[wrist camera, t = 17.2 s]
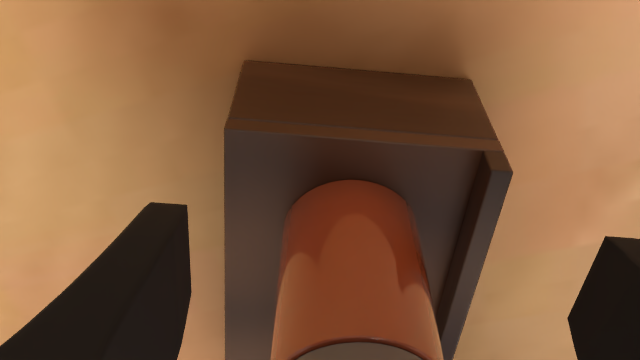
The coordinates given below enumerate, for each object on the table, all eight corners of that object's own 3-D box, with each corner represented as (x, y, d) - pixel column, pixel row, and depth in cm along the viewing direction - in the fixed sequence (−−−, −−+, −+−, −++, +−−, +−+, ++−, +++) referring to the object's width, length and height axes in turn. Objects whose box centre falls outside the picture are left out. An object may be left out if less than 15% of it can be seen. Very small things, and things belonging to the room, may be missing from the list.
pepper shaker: (405, 287, 19) (436, 492, 14) (279, 278, 19) (259, 482, 14) (429, 184, 17) (477, 381, 11) (286, 173, 17) (266, 368, 11)
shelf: (398, 370, 28) (412, 485, 24) (238, 360, 28) (221, 475, 24) (471, 78, 20) (514, 172, 15) (243, 59, 20) (218, 149, 15)
